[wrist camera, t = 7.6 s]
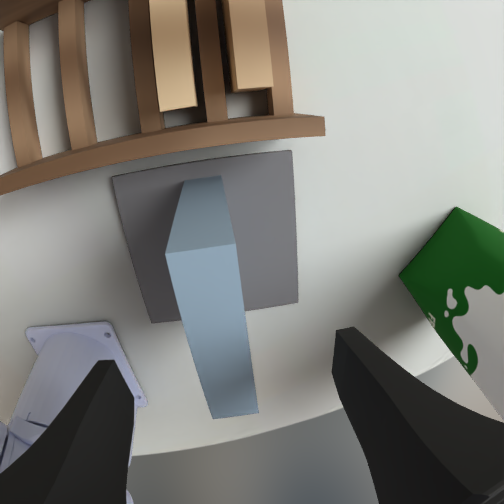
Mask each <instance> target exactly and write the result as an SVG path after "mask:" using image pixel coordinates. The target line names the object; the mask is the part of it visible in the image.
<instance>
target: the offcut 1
mask: <svg viewBox="0 0 504 504" xmlns="http://www.w3.org/2000/svg"><path fill="white" fill-rule="evenodd" d="M149 5H150V20H151V33H152V44H153V55H154V65H155V74H156V83H157V91H158V100H159V107H160V112H163V111H172V110H178V109H184V108H190V107H197V106H198V101H197V92H196V83H195V74H194V65H193V55H192V45H191V35H190V24H189V13H188V2H187V0H149Z"/></svg>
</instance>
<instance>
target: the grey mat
mask: <svg viewBox="0 0 504 504" xmlns="http://www.w3.org/2000/svg"><path fill="white" fill-rule="evenodd" d="M218 175H221V177H222V181H223V186H224V191H225V196H226V200H227V205H228V210H229V215H230V219H231V224H232V229H233V233H234V238H235V243H236V250H237V257H238V265H239V273H240V280H241V288H242V296H243V303H244V311H249V310H256V309H262V308H268V307H274V306H280V305H286V304H292V303H298V266H297V236H296V213H295V192H294V174H293V158H292V151H291V150H284V151H274V152H263V153H254V154H245V155H237V156H229V157H221V158H214V159H207V160H200V161H193V162H187V163H181V164H174V165H169V166H163V167H157V168H152V169H146V170H141V171H136V172H131V173H126V174H121V175H116V176H113V177H112V181H113V185H114V190H115V195H116V199H117V203H118V208H119V212H120V216H121V220H122V224H123V228H124V232H125V236H126V240H127V244H128V248H129V251H130V255H131V258H132V262H133V266H134V269H135V272H136V276H137V279H138V282H139V286H140V289H141V292H142V295H143V299H144V302H145V305H146V308H147V311H148V314H149V317H150V320H151V323H161V322H169V321H177V320H182V318H181V315H180V311H179V307H178V304H177V300H176V296H175V292H174V288H173V284H172V280H171V276H170V272H169V268H168V264H167V260H166V256H165V252H166V248H167V244H168V240H169V236H170V232H171V228H172V225H173V221H174V217H175V213H176V209H177V206H178V202H179V198H180V195H181V191H182V188H183V184H184V181H185V180H191V179H197V178H204V177H211V176H218Z"/></svg>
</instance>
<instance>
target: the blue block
mask: <svg viewBox="0 0 504 504" xmlns="http://www.w3.org/2000/svg"><path fill="white" fill-rule="evenodd" d="M165 256H166V260H167V264H168V268H169V272H170V276H171V280H172V284H173V288H174V292H175V296H176V300H177V304H178V307H179V311H180V315H181V318H182V322H183V326H184V329H185V333H186V336H187V340H188V343H189V347H190V350H191V353H192V357H193V360H194V363H195V366H196V370H197V373H198V376H199V379H200V382H201V385H202V388H203V391H204V395H205V398H206V401H207V404H208V406H209V409H210V412H211V415H212V418H213V419H218V418H227V417H234V416H241V415H248V414H255V413H259V410H258V404H257V397H256V390H255V383H254V376H253V369H252V362H251V354H250V347H249V340H248V333H247V325H246V318H245V311H244V303H243V296H242V288H241V280H240V273H239V265H238V257H237V250H236V243H235V238H234V233H233V229H232V224H231V219H230V215H229V210H228V205H227V200H226V196H225V191H224V186H223V181H222V177H221V175H218V176H211V177H204V178H197V179H191V180H185V181H184V184H183V188H182V191H181V195H180V198H179V202H178V206H177V209H176V213H175V217H174V221H173V225H172V228H171V232H170V236H169V240H168V244H167V248H166V252H165Z"/></svg>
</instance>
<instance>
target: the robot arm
mask: <svg viewBox="0 0 504 504" xmlns="http://www.w3.org/2000/svg"><path fill="white" fill-rule="evenodd" d="M106 333H109V334H110V335H109V334H106ZM25 334H26V336H27V338H28V340H29V341H30V343H31V345H32V347H33V348H34V350H35V352H36V354H37V355H38V357H37V360H36V362H35V364H34V366H33V368H32V370H31V372H30V375H29V377H28V379H27V381H26V383H25V386H24V388H23V390H22V393H21V395H20V397H19V400H18V402H17V405H16V407H15V410H14V412H13V415H12V417H11V420H10V422H9V424H8V425H5V424H4V423H2V422H1V421H0V504H133V500H132V498H131V496H130V494H129V492H128V491H127V490H126V484H127V472H128V467H129V465H130V463H131V458H132V449H133V439H134V430H135V422H136V414H137V407H146V406H147V405H148V401H147V399H146V397H145V395H144V393H143V391H142V389H141V387H140V385H139V383H138V381H137V379H136V377H135V375H134V373H133V371H132V369H131V367H130V365H129V363H128V360H127V358H126V356H125V354H124V352H123V350H122V347H121V345H120V343H119V341H118V338H117V336H116V334H115V331H114V329H113V327H112V325H111V324H110V323H109V322H106V321H102V322H91V323H80V324H68V325H55V326H42V327H29V328H27V329H26V331H25ZM332 375H333V378H334V382H335V385H336V388H337V391H338V395H339V398H340V400H341V402H342V405H343V407H344V409H345V411H346V414H347V416H348V418H349V420H350V422H351V425H352V427H353V429H354V431H355V433H356V435H357V438H358V440H359V442H360V444H361V447H362V449H363V452H364V454H365V457H366V459H367V462H368V466H369V469H370V472H371V476H372V479H373V483H374V486H375V490H376V493H377V498H378V501H379V504H504V423H503V422H500V421H497V420H494V419H491V418H488V417H485V416H483V415H480V414H478V413H476V412H474V411H472V410H470V409H467V408H465V407H463V406H461V405H459V404H457V403H455V402H453V401H452V400H450V399H448V398H446V397H445V396H443V395H441V394H440V393H438V392H436V391H434V390H433V389H431V388H430V387H428V386H427V385H425V384H424V383H422V382H421V381H419V380H418V379H417V378H415V377H414V376H413V375H411V374H410V373H409V372H407V371H406V370H405V369H403V368H402V367H401V366H400V365H398V364H397V363H396V362H395V361H393V360H392V359H391V358H390V357H388V356H387V355H386V354H385V353H384V352H383V351H381V350H380V349H379V348H378V347H377V346H376V345H374V344H373V343H372V342H371V341H370V340H369V339H368V338H366V337H365V336H364V335H363V334H362V333H361V332H359V331H358V330H357V329H356V328H355V327H350V328H345V329H341V330H336V338H335V347H334V357H333V366H332Z"/></svg>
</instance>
